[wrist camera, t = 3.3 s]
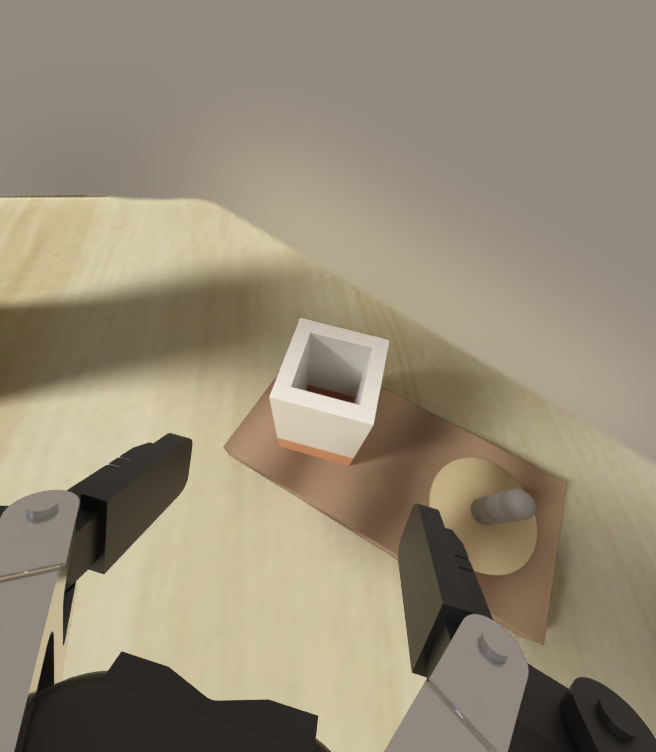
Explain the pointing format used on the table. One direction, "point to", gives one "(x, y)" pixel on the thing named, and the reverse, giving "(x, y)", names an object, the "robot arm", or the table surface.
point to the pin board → (430, 498)
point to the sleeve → (328, 390)
